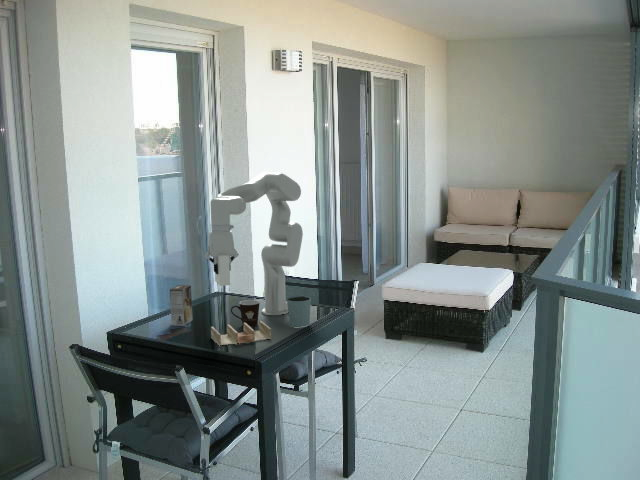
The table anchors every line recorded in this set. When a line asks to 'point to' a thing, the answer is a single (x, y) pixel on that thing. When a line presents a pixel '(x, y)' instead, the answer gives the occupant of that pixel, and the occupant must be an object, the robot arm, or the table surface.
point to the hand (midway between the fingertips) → (222, 272)
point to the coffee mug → (248, 312)
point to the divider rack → (241, 334)
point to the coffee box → (181, 305)
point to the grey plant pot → (299, 310)
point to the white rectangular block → (223, 270)
